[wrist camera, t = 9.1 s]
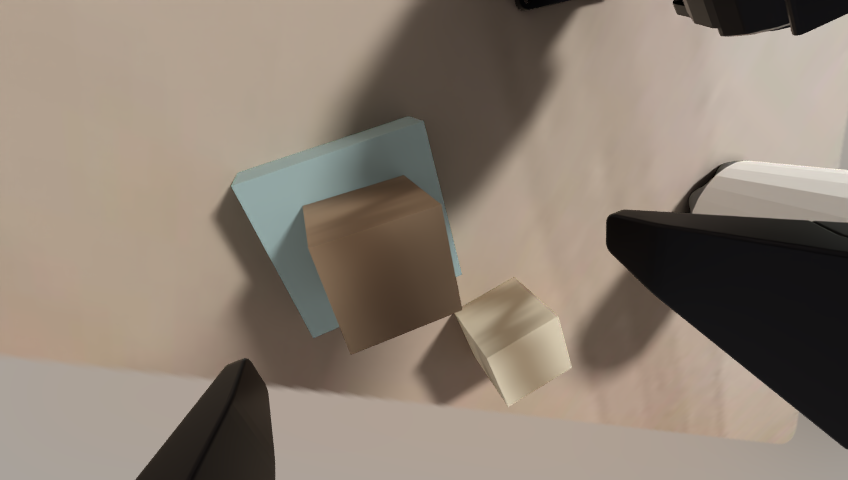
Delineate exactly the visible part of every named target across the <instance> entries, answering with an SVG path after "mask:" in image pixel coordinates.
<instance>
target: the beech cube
mask: <svg viewBox="0 0 848 480" xmlns="http://www.w3.org/2000/svg"><path fill="white" fill-rule="evenodd" d="M455 316H456V318H457V320H458V322H459V324H460V326H461V328H462V331H463V333H464V335H465V337H466V339H467V341H468V343H469V346H470V348H471V350H472V352H473V354H474V356H475V358H476V360H477V361H478V363H479V364H480V366H481V367H482V369H483V370H484V372H485V373H486V375H487V376H488V378H489V379H490V381H491V382H492V383H493V385H494V386H495V388H496V389H497V391H498V392H499V394H500V395H501V397H502V398H503V400H504V401H505V403H506V404H507V406H508V407H509V406H511V405H513V404H514V403H516V402H517V401H519V400H521V399H522V398H524V397H525V396H527V395H529V394H530V393H532V392H534V391H535V390H537V389H538V388H540V387H542V386H543V385H545V384H546V383H548V382H550V381H551V380H553V379H554V378H556V377H558V376H559V375H561V374H563V373H564V372H566V371H567V370H569V369H571V368H572V366H571V362H570V359H569V355H568V351H567V347H566V344H565V340H564V336H563V332H562V329H561V325H560V321H559V317H558V315H557V314H555V313H554V312H553V311H552V310H551V309H550V308H549V307H547V306H546V305H545V304H544V303H543V302H542V301H541V300H540V299H538V298H537V297H536V296H535V295H534V294H533V293H532V292H531V291H529V290H528V289H527V288H526V287H525V286H524V285H523V284H522V283H520V282H519V281H518V280H517V279H516V278H515V277H513V278H511V279H510V280H508V281H506V282H504V283H503V284H501V285H499V286H497V287H496V288H494V289H492V290H490V291H489V292H487V293H485V294H483V295H482V296H480V297H478V298H477V299H475V300H473V301H471V302H470V303H468V304H466V305H464V306H463V307H462V310H461V311H459V312H456V313H455Z"/></svg>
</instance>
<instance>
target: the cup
mask: <svg viewBox="0 0 848 480" xmlns="http://www.w3.org/2000/svg"><path fill="white" fill-rule="evenodd" d="M689 207H690V209H691V211H690V213H691V214H708V215H726V216H743V217H760V218H777V219H794V220H809V221H811V222H812V221H830V222H848V170H842V169H831V168H820V167H810V166H799V165H788V164H778V163H767V162H756V161H733V162H728V163H724V164H722V165H721V166H720V167H719V168H718V170H717V172H716V175H715V177H714V178H712V179H711V180H710V181H709V182H708V183H707V184H705V185H704V186H703V187H701V188H698V189H697V190H695V191H694V192H693V193H692V194H691V196H690V197H689Z"/></svg>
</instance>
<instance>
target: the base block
mask: <svg viewBox="0 0 848 480" xmlns="http://www.w3.org/2000/svg"><path fill="white" fill-rule="evenodd" d="M402 175H404V176H406V177H407V178H408V179H410V180H411V181H412V182H413V183H415V184H416V185H417V186H418V187H420V188H421V189H422V190H424V191H425V192H426V193H427V194H429V195H430V196H431V197H432V198H434V199H435V200H436V201H438V202H439V203H440V204H441V205H442V210H443V215H444V220H445V225H446V230H447V235H448V240H449V245H450V250H451V256H452V261H453V266H454V271H455V276H456V277H457V276H460V275H462V273H461V269H460V265H459V261H458V257H457V253H456V249H455V245H454V241H453V237H452V233H451V229H450V225H449V221H448V217H447V213H446V209H445V205H444V201H443V197H442V193H441V189H440V184H439V180H438V176H437V172H436V168H435V164H434V160H433V156H432V152H431V148H430V144H429V140H428V136H427V132H426V128H425V124H424V121H422V120H419V119H416V118H413V117H410V116H407V117H404V118H401V119H398V120H395V121H392V122H389V123H386V124H383V125H380V126H377V127H374V128H371V129H368V130H365V131H362V132H359V133H356V134H353V135H350V136H347V137H344V138H341V139H338V140H335V141H332V142H329V143H326V144H323V145H320V146H317V147H314V148H311V149H308V150H305V151H302V152H299V153H296V154H293V155H290V156H287V157H284V158H281V159H278V160H275V161H272V162H269V163H266V164H263V165H260V166H257V167H254V168H251V169H248V170H245V171H242V172H239V173H237V175H236V177H235V179H234V181H233V183H232V185H231V187H232V189H233V191H234V192H235V194H236V196H237V198H238V200H239V202H240V204H241V205H242V207H243V209H244V211H245V213H246V215H247V217H248V218H249V220H250V222H251V224H252V226H253V228H254V229H255V231H256V233H257V235H258V237H259V239H260V241H261V242H262V244H263V246H264V248H265V250H266V252H267V254H268V255H269V257H270V259H271V261H272V263H273V265H274V267H275V268H276V270H277V272H278V274H279V276H280V278H281V279H282V281H283V283H284V285H285V287H286V289H287V291H288V292H289V294H290V296H291V298H292V300H293V302H294V304H295V305H296V307H297V309H298V311H299V313H300V315H301V317H302V318H303V320H304V322H305V324H306V326H307V328H308V329H309V331H310V333H311V335H312V337H313V338H315V337H317V336H320V335H322V334H324V333H327V332H329V331H331V330H334V329H336V328H338V327H339V324H338V322H337V319H336V317H335V314H334V312H333V309H332V307H331V304H330V302H329V299H328V297H327V294H326V292H325V289H324V287H323V284H322V282H321V279H320V277H319V274H318V272H317V269H316V267H315V264H314V262H313V259H312V257H311V254H310V252H309V249H308V243H307V236H306V228H305V221H304V214H303V206H304V205H307V204H310V203H314V202H317V201H320V200H324V199H327V198H330V197H333V196H337V195H340V194H343V193H346V192H350V191H353V190H356V189H360V188H363V187H366V186H369V185H373V184H376V183H379V182H382V181H386V180H389V179H392V178H396V177H399V176H402Z"/></svg>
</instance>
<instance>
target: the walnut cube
mask: <svg viewBox="0 0 848 480" xmlns="http://www.w3.org/2000/svg"><path fill="white" fill-rule="evenodd" d="M303 214H304V221H305V228H306V236H307V243H308V249H309V252H310V254H311V257H312V259H313V262H314V264H315V267H316V269H317V272H318V274H319V277H320V279H321V282H322V284H323V287H324V289H325V292H326V294H327V297H328V299H329V302H330V304H331V307H332V309H333V312H334V314H335V317H336V319H337V322H338V324H339V327H340V329H341V332H342V334H343V337H344V339H345V342H346V344H347V347H348V349H349V352H350V354H351V355H352V354H354V353H357V352H359V351H362V350H364V349H367V348H369V347H372V346H374V345H377V344H379V343H382V342H384V341H387V340H389V339H392V338H394V337H397V336H399V335H402V334H404V333H407V332H409V331H412V330H414V329H417V328H419V327H422V326H424V325H427V324H429V323H432V322H434V321H436V320H439V319H441V318H444V317H446V316H449V315H451V314H454V313H456V312H459V311H461V310H462V306H461V301H460V296H459V291H458V286H457V281H456V276H455V271H454V266H453V261H452V256H451V250H450V245H449V240H448V235H447V230H446V225H445V220H444V215H443V210H442V205H441V204H440V203H439V202H438V201H436V200H435V199H434V198H432V197H431V196H430V195H429V194H427V193H426V192H425V191H424V190H422V189H421V188H420V187H418V186H417V185H416V184H415V183H413V182H412V181H411V180H410V179H408V178H407V177H406V176H404V175H402V176H399V177H396V178H392V179H389V180H386V181H382V182H379V183H376V184H373V185H369V186H366V187H363V188H360V189H356V190H353V191H350V192H346V193H343V194H340V195H337V196H333V197H330V198H327V199H324V200H320V201H317V202H314V203H310V204H307V205H304V206H303Z"/></svg>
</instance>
